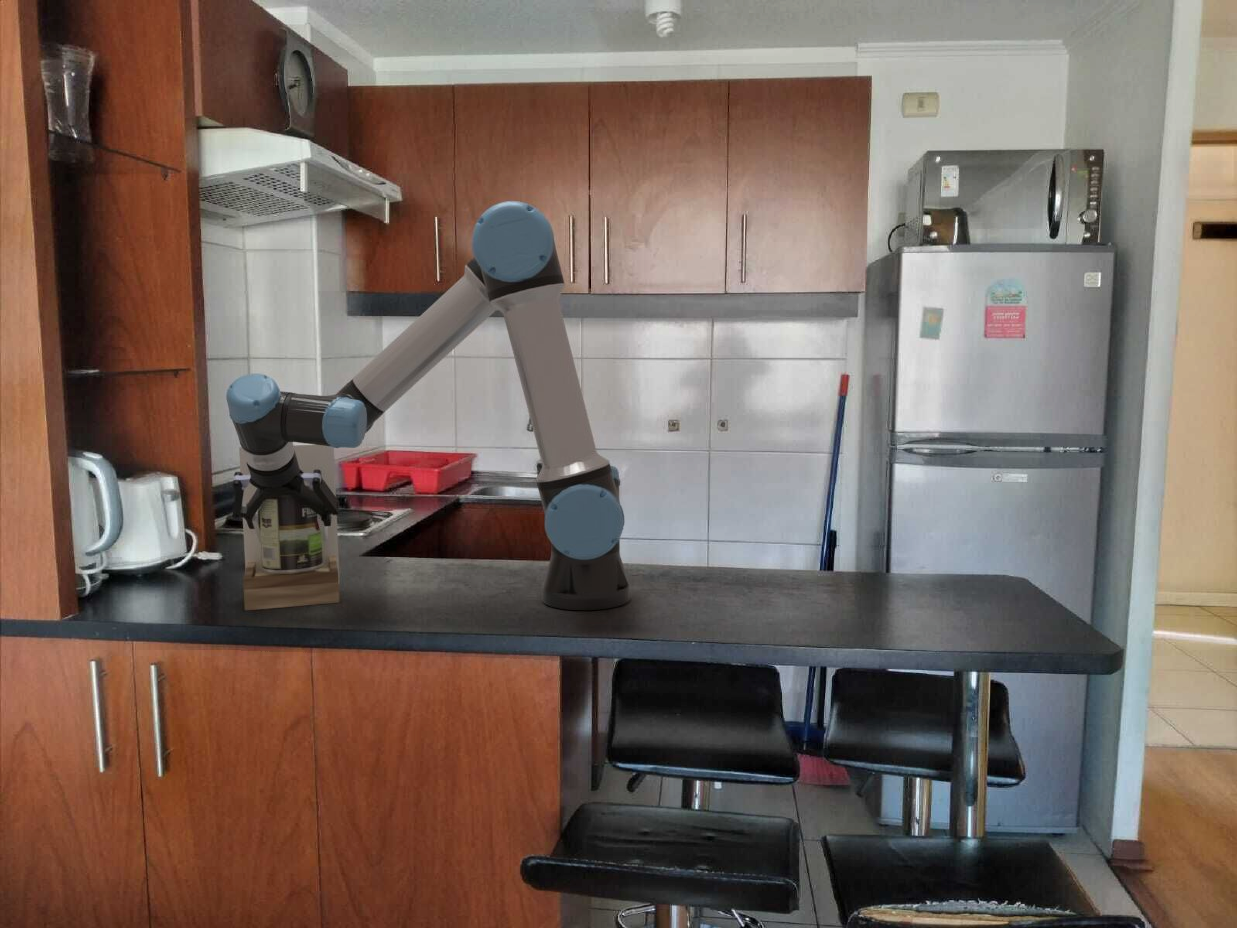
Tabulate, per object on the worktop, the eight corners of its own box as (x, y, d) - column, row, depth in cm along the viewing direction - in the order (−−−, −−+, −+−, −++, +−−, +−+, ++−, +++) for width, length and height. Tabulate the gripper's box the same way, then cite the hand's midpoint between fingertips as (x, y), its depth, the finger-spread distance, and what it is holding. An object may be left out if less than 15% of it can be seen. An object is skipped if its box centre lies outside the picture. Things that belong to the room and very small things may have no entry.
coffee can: (333, 562, 168) (330, 484, 166) (307, 575, 158) (303, 492, 156) (279, 561, 169) (275, 484, 168) (250, 574, 159) (245, 492, 157)
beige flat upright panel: (339, 584, 172) (333, 444, 169) (246, 591, 167) (239, 447, 164) (339, 581, 174) (333, 443, 171) (247, 589, 169) (239, 446, 166)
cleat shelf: (339, 602, 159) (338, 571, 158) (244, 610, 154) (243, 578, 153) (336, 584, 172) (335, 556, 171) (249, 591, 167) (248, 562, 166)
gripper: (191, 475, 144) (224, 555, 161) (341, 471, 147) (358, 550, 165) (199, 438, 149) (230, 520, 166) (345, 435, 152) (361, 516, 169)
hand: (294, 535), depth 165 cm, fingers closed on coffee can, 10 cm apart
